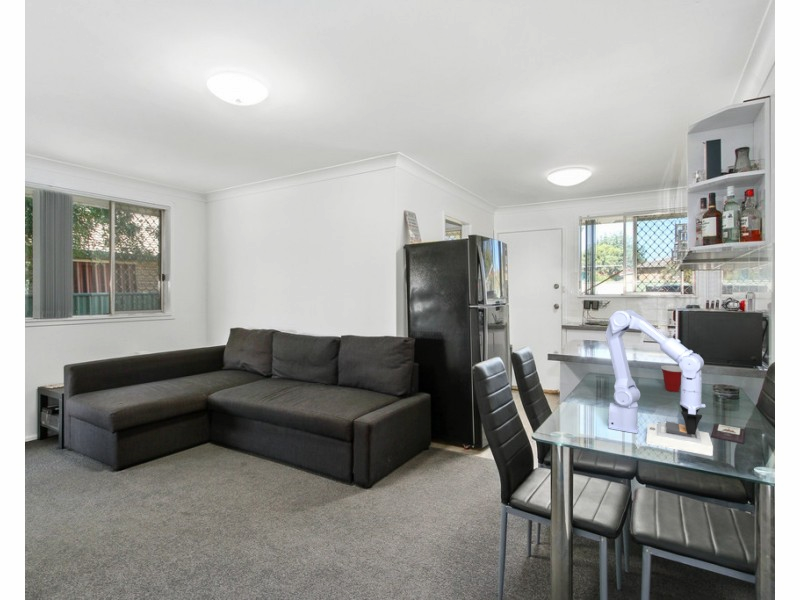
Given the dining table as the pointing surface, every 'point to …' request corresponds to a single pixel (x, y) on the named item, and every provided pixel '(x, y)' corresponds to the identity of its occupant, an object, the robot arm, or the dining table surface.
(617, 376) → the robot arm
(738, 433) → the chocolate bar
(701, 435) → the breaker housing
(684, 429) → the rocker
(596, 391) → the dining table surface
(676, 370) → the plastic cup
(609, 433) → the dining table surface
